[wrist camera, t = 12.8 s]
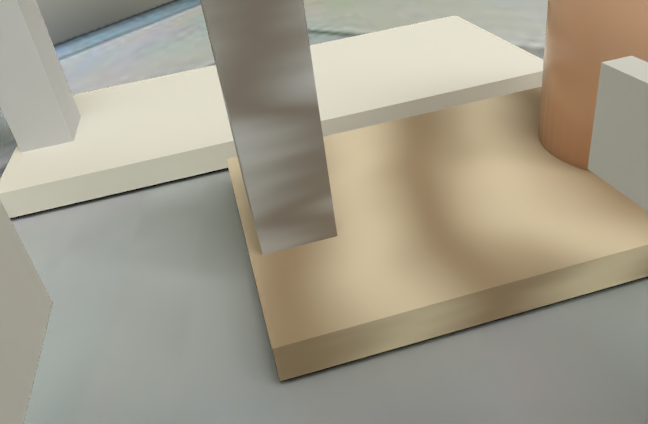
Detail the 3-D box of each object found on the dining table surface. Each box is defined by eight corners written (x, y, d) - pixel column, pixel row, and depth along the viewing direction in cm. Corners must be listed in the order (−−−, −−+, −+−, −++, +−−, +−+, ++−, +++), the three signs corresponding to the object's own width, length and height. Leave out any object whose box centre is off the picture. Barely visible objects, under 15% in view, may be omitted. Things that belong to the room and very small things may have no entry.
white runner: (455, 34, 47) (454, -165, 39) (555, 91, 35) (579, -176, 28) (46, 121, 42) (-41, -85, 35) (5, 219, 31) (-138, -58, 23)
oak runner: (755, 60, 35) (831, -215, 28) (1054, 159, 23) (1321, -271, 16) (232, 184, 31) (160, -105, 23) (279, 381, 19) (165, -72, 12)
